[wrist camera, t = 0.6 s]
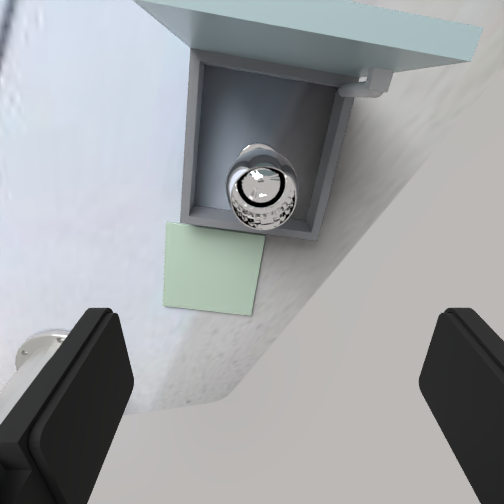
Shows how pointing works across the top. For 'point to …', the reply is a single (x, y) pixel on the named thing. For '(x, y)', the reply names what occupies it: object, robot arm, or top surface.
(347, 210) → the top surface
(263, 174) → the wineglass
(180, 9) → the case
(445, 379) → the robot arm
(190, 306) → the mat
